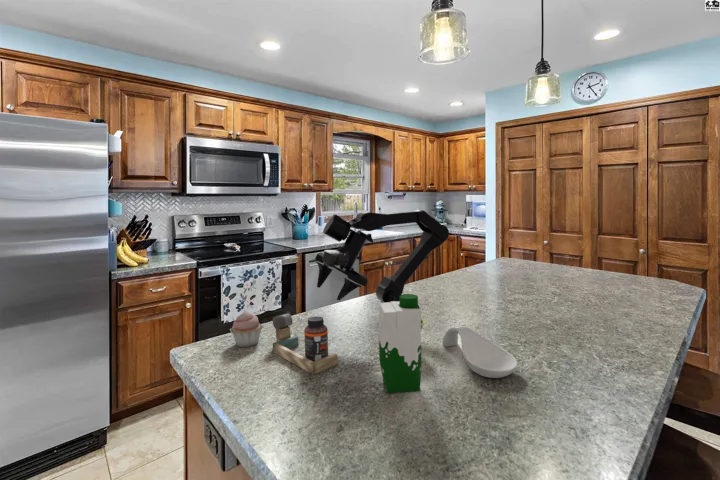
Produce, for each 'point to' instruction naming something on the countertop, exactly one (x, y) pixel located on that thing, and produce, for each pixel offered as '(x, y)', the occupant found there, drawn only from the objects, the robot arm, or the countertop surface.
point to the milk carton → (400, 344)
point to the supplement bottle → (316, 339)
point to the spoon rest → (481, 353)
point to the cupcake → (246, 329)
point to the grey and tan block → (282, 326)
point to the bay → (299, 360)
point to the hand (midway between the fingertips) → (327, 293)
